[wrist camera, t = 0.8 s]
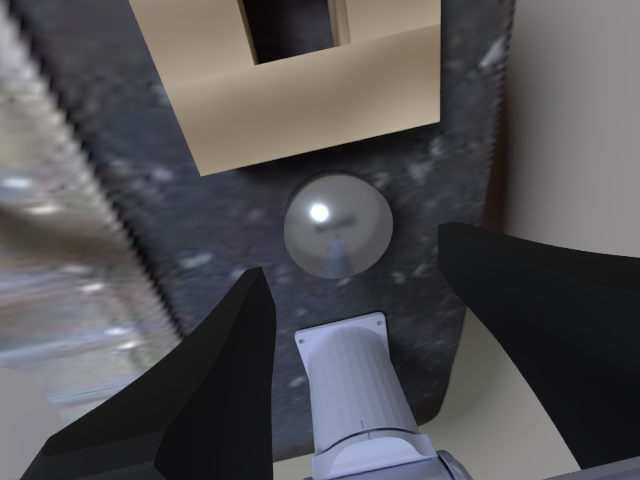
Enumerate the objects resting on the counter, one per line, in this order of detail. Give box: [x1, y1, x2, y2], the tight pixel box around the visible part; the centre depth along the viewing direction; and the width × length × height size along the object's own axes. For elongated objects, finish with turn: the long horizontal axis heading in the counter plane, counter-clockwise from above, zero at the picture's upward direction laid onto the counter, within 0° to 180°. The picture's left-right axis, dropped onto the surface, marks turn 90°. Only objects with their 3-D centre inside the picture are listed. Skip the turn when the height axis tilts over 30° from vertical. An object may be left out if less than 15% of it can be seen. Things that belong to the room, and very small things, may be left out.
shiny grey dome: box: [284, 169, 393, 279], centre depth 16 cm, size 6×6×6 cm
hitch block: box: [129, 0, 441, 176], centre depth 12 cm, size 12×12×4 cm
